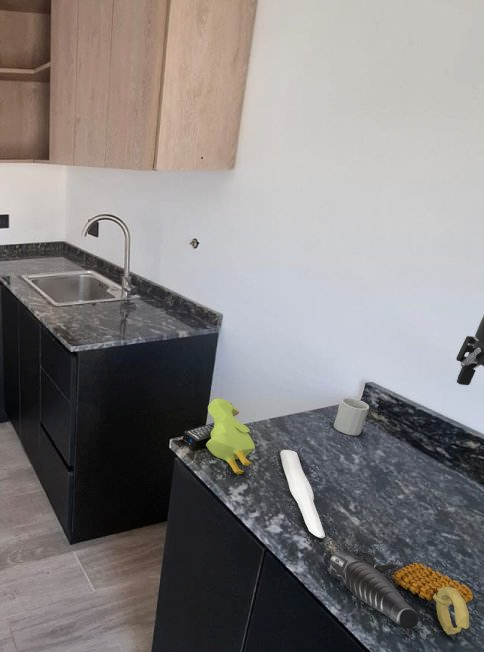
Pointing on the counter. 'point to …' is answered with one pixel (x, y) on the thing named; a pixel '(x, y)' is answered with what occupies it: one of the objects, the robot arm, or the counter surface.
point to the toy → (229, 435)
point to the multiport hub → (198, 436)
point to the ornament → (437, 593)
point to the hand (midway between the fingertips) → (475, 393)
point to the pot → (351, 416)
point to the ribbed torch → (372, 585)
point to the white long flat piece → (301, 491)
